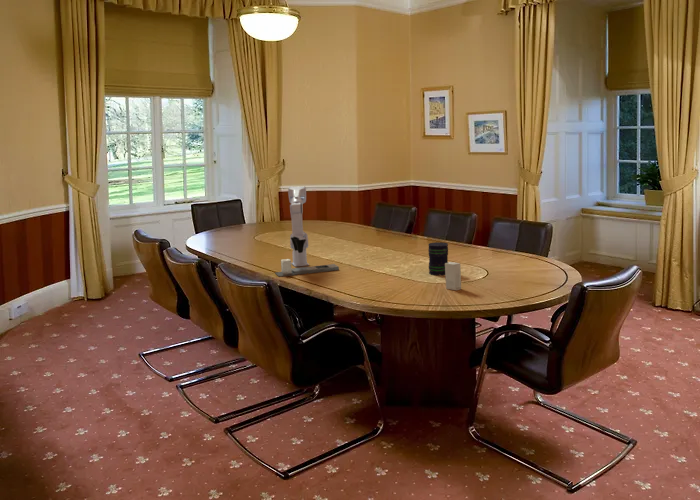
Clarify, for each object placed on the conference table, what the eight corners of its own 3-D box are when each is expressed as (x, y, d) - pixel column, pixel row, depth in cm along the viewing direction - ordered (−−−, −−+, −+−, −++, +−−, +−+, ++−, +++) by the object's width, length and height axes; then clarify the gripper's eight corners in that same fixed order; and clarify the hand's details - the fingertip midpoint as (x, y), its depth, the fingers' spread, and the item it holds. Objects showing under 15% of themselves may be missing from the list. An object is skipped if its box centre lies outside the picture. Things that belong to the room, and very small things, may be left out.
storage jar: (425, 272, 350) (425, 243, 348) (443, 270, 353) (442, 241, 350) (433, 276, 341) (433, 246, 338) (451, 274, 344) (451, 244, 341)
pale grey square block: (281, 272, 360) (280, 259, 359) (290, 271, 361) (289, 258, 360) (282, 274, 356) (282, 261, 354) (291, 273, 357) (290, 260, 356)
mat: (275, 273, 361) (274, 272, 361) (291, 271, 364) (291, 270, 364) (278, 276, 353) (278, 276, 353) (295, 275, 356) (295, 274, 355)
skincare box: (461, 289, 314) (461, 263, 312) (455, 290, 311) (455, 264, 309) (451, 286, 319) (450, 261, 316) (444, 288, 316) (444, 263, 313)
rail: (291, 271, 363) (290, 268, 363) (334, 267, 371) (334, 263, 370) (294, 275, 356) (294, 271, 356) (338, 270, 363) (338, 266, 363)
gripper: (308, 227, 356) (309, 252, 358) (301, 223, 369) (302, 248, 371) (294, 228, 353) (296, 254, 356) (288, 224, 367) (289, 249, 369)
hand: (298, 251), depth 363 cm, fingers open, 7 cm apart
